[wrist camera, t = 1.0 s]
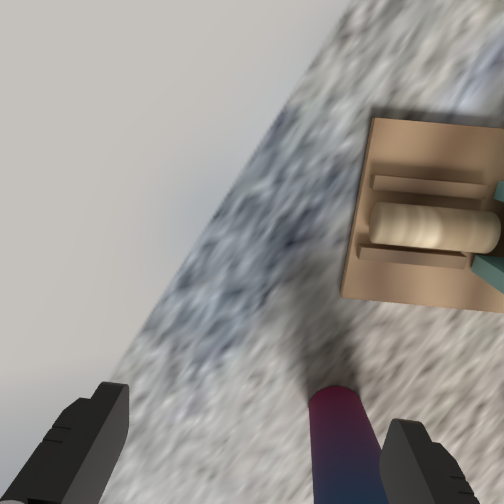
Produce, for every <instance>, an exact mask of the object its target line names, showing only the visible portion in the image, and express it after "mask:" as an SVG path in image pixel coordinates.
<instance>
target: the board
mask: <svg viewBox="0 0 504 504" xmlns="http://www.w3.org/2000/svg"><path fill="white" fill-rule="evenodd" d="M498 181H504V129H501V128H489V127H478V126H466V125H455V124H443V123H432V122H420V121H408V120H397V119H385V118H372V122H371V127H370V132H369V138H368V143H367V149H366V154H365V160H364V165H363V171H362V176H361V182H360V187H359V193H358V198H357V204H356V209H355V214H354V220H353V225H352V231H351V236H350V242H349V247H348V253H347V258H346V264H345V269H344V275H343V280H342V286H341V291H340V294H341V297H342V298H352V299H362V300H373V301H383V302H394V303H404V304H414V305H425V306H435V307H446V308H456V309H467V310H477V311H487V312H498V313H504V294H502V293H501V292H500V291H498V290H497V289H496V288H494V287H493V286H491V285H490V284H489V283H487V282H486V281H485V280H483V279H482V278H480V277H479V276H478V275H476V274H475V273H474V272H472V271H471V268H472V265H473V262H474V258H475V255H482V256H493V257H504V202H502V201H499V200H496V199H493V197H494V194H495V191H496V188H497V185H498ZM376 202H388V203H399V204H410V205H421V206H432V207H443V208H454V209H465V210H476V211H487V212H493V213H495V214H496V215H497V216H498V218H499V220H500V224H501V234H500V238H499V241H498V243H497V245H496V247H495V248H494V249H493V250H492V251H491V252H489V253H474V252H464V251H453V250H442V249H431V248H421V247H410V246H399V245H388V244H378V243H372V242H371V241H370V238H369V220H370V215H371V212H372V209H373V206H374V205H375V203H376Z"/></svg>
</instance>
